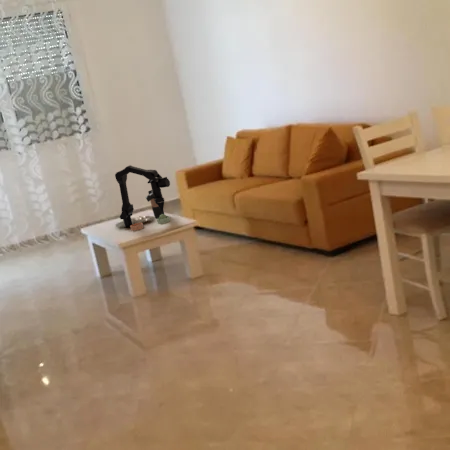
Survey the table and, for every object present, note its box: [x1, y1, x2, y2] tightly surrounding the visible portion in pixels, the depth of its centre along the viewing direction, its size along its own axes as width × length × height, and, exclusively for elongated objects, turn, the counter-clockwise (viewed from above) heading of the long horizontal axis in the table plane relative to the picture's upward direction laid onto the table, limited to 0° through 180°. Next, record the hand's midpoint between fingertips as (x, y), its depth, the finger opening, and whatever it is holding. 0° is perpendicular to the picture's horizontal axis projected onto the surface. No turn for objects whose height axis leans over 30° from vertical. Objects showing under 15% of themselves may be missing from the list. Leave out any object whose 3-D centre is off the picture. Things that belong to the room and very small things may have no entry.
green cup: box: [156, 215, 171, 225], centre depth 484 cm, size 8×8×3 cm
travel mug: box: [147, 189, 165, 220], centre depth 499 cm, size 8×8×20 cm
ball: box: [159, 213, 167, 219], centre depth 483 cm, size 5×5×5 cm
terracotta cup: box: [129, 222, 145, 232], centre depth 481 cm, size 8×8×3 cm
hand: (161, 210), depth 482 cm, fingers open, 9 cm apart
